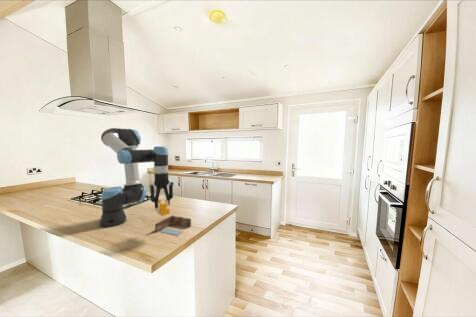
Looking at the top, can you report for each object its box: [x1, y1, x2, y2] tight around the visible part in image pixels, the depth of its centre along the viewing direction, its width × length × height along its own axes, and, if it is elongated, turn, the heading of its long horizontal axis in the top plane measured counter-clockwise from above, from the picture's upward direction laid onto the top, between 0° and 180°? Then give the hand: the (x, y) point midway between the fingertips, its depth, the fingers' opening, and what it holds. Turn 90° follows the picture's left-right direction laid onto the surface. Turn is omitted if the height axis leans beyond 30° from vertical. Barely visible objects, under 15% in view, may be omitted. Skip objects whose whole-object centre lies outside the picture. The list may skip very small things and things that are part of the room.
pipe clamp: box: [154, 198, 170, 216], centre depth 111 cm, size 12×4×6 cm, turn 39°
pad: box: [159, 227, 183, 236], centre depth 113 cm, size 13×5×1 cm, turn 68°
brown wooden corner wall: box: [154, 215, 192, 233], centre depth 117 cm, size 15×15×5 cm
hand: (162, 211), depth 110 cm, fingers closed on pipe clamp, 5 cm apart
